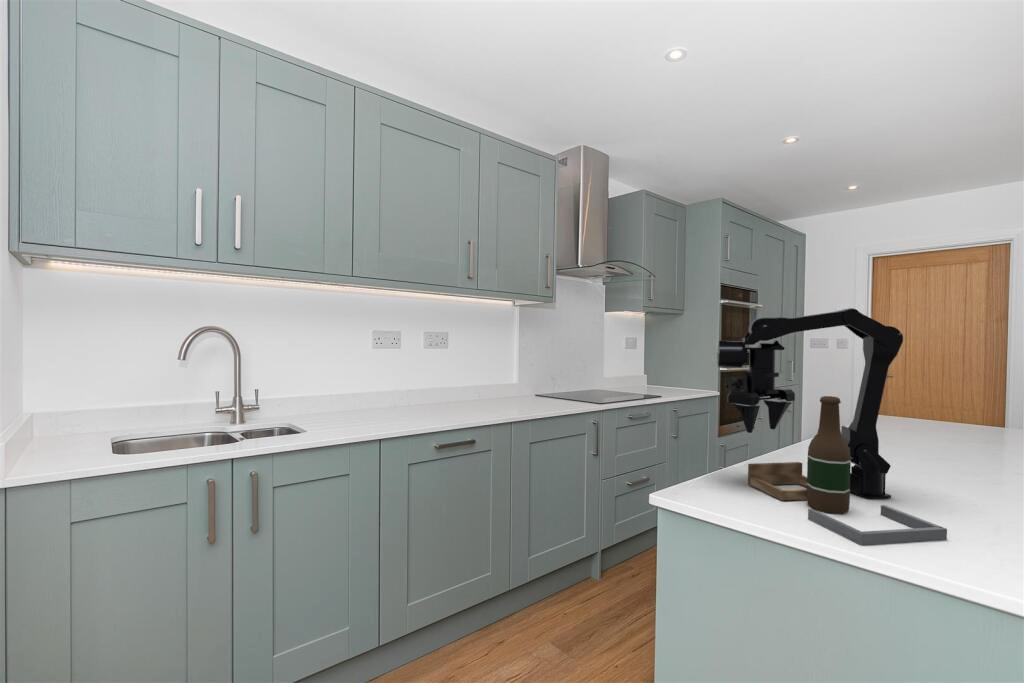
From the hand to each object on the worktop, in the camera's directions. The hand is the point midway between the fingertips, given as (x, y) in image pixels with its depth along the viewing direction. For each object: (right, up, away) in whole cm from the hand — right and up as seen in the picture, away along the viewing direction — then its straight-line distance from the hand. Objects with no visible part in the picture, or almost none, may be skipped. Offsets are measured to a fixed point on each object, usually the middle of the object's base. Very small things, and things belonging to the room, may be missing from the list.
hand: (761, 430), depth 123 cm
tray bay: (+8, -14, -28) cm, 32 cm away
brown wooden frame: (+4, -13, -6) cm, 15 cm away
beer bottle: (+6, -14, -17) cm, 22 cm away
